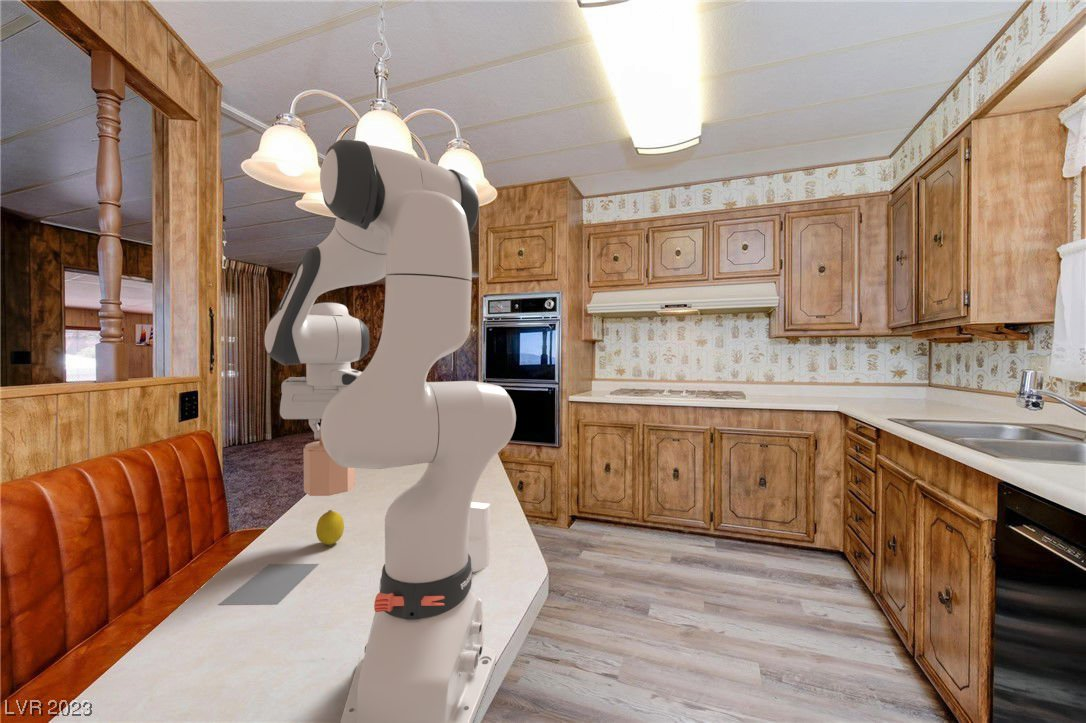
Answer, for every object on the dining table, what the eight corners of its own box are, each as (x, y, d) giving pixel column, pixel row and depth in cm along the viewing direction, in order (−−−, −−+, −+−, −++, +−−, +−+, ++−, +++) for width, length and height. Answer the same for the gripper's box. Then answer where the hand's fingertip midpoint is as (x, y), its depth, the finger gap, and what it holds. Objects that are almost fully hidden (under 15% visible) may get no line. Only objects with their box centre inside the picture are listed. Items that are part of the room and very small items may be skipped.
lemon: (333, 552, 92) (332, 515, 92) (310, 550, 93) (310, 514, 93) (349, 541, 98) (349, 506, 97) (328, 539, 99) (327, 505, 99)
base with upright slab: (496, 555, 91) (496, 499, 91) (479, 576, 82) (479, 514, 82) (458, 549, 94) (458, 495, 93) (437, 569, 85) (437, 509, 85)
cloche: (342, 495, 91) (341, 429, 90) (296, 496, 90) (295, 429, 90) (360, 482, 100) (360, 422, 100) (319, 482, 100) (318, 422, 100)
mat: (277, 606, 72) (277, 604, 72) (217, 607, 72) (217, 604, 72) (319, 565, 86) (319, 563, 86) (269, 566, 86) (269, 564, 86)
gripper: (273, 377, 91) (273, 441, 92) (369, 377, 92) (369, 441, 92) (289, 376, 98) (290, 436, 98) (379, 376, 98) (380, 436, 98)
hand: (329, 438), depth 95 cm, fingers closed on cloche, 3 cm apart
